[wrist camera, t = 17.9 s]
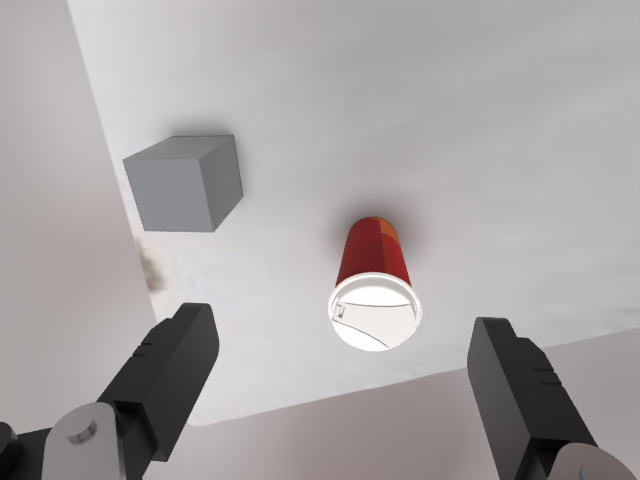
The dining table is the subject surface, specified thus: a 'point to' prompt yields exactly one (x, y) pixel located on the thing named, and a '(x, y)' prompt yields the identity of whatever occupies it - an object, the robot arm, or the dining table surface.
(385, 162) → the dining table surface
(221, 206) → the gray cube
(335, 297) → the paper cup
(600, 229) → the dining table surface
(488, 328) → the robot arm
